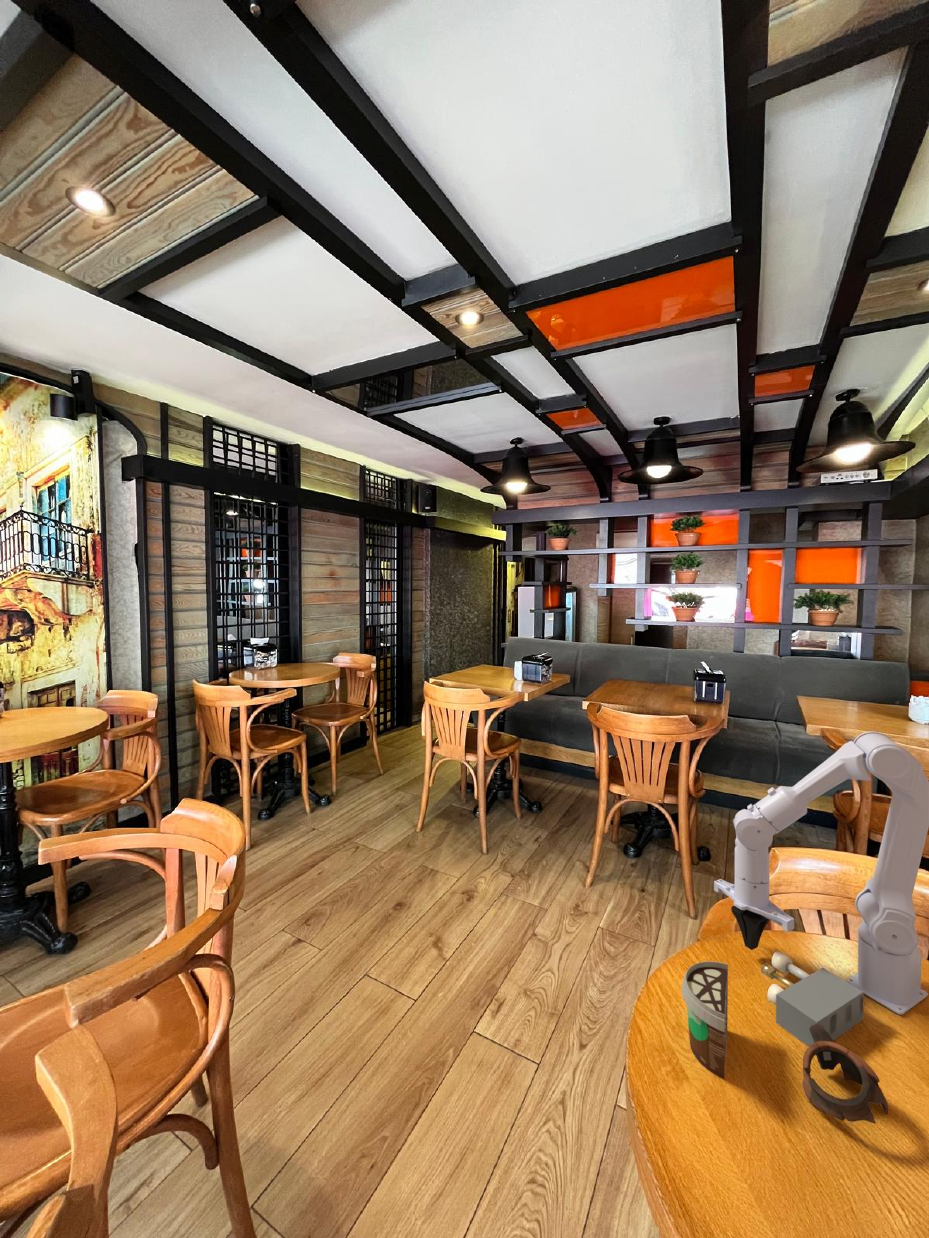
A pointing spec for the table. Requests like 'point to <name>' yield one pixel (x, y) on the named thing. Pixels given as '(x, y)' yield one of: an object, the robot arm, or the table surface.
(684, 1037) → the table surface
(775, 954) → the knob
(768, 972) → the pot shaft
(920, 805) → the robot arm
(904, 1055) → the table surface
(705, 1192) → the table surface
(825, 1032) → the jagged brown ring
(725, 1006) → the food container
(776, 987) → the knob
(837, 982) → the grey slotted box
